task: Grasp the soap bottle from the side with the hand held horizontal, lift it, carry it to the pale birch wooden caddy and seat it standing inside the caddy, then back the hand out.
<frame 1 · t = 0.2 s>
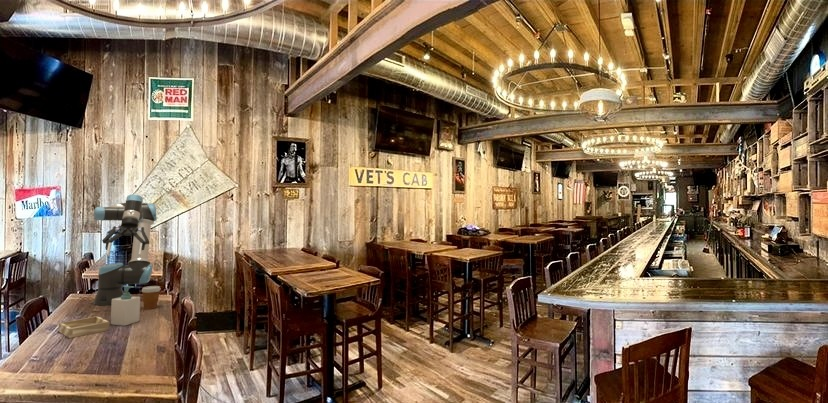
hand: (123, 255, 204), 35 cm above the table, tool tilted 35°, fingers open, 13 cm apart
caddy: (84, 330, 188), on the table
soap bottle: (125, 323, 202), on the table
disposable coffee cup: (150, 308, 231), on the table
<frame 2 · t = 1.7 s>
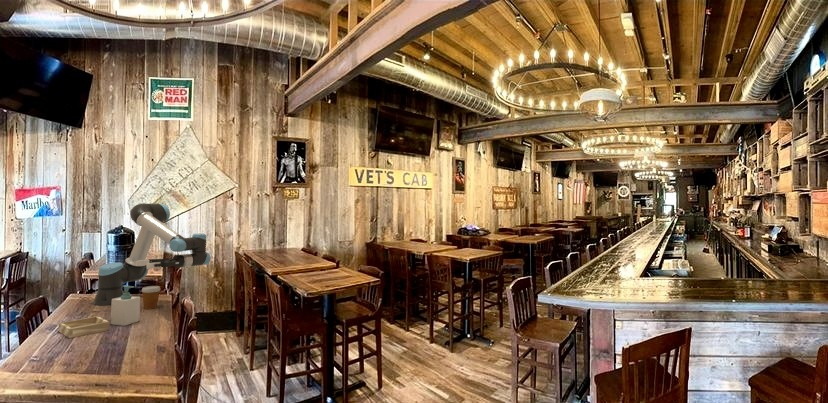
hand: (141, 264, 213), 28 cm above the table, tool horizontal, fingers open, 13 cm apart
nothing on the table moved.
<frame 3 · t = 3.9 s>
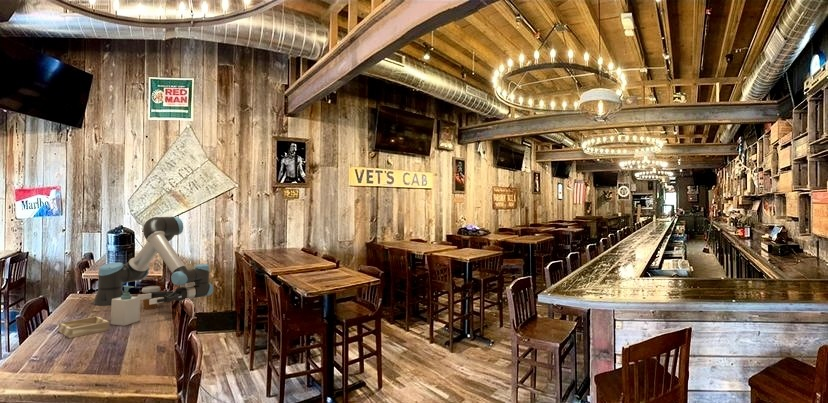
hand: (143, 299, 208), 10 cm above the table, tool horizontal, fingers open, 13 cm apart
nothing on the table moved.
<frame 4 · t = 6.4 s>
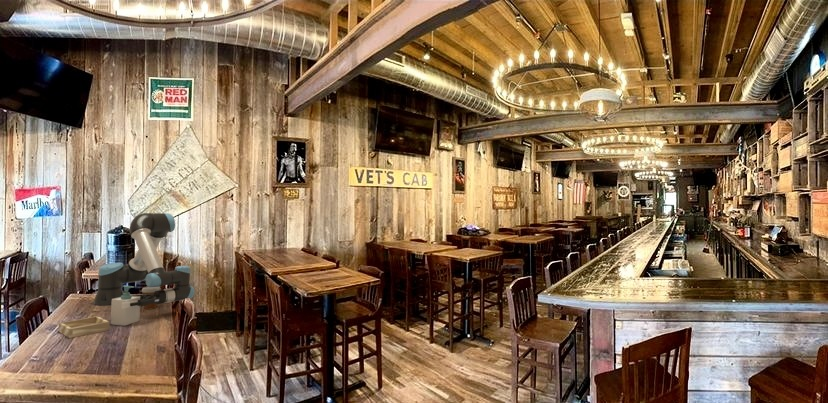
hand: (117, 303, 199), 10 cm above the table, tool horizontal, fingers closed on soap bottle, 11 cm apart
soap bottle: (125, 323, 202), on the table, touching gripper
everything else where it was.
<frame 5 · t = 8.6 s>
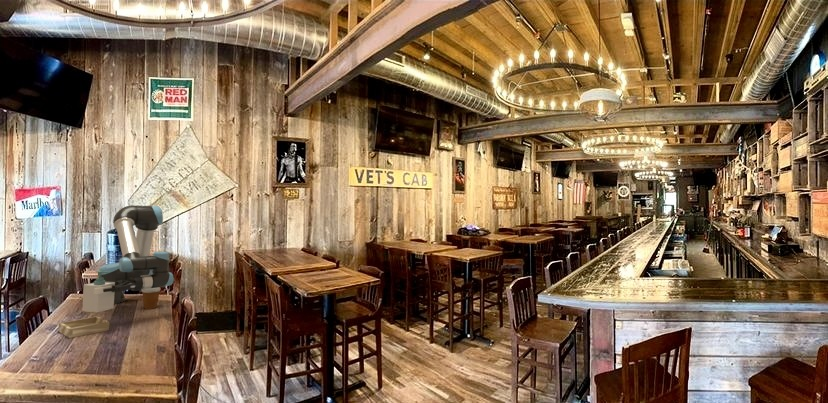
hand: (89, 289, 188), 20 cm above the table, tool horizontal, fingers closed on soap bottle, 11 cm apart
soap bottle: (98, 310, 191), point 9 cm above the table, touching gripper
everything else where it was.
when the fingers open (13 cm above the table, at t = 10.8 s): soap bottle drops 1 cm, resting on caddy.
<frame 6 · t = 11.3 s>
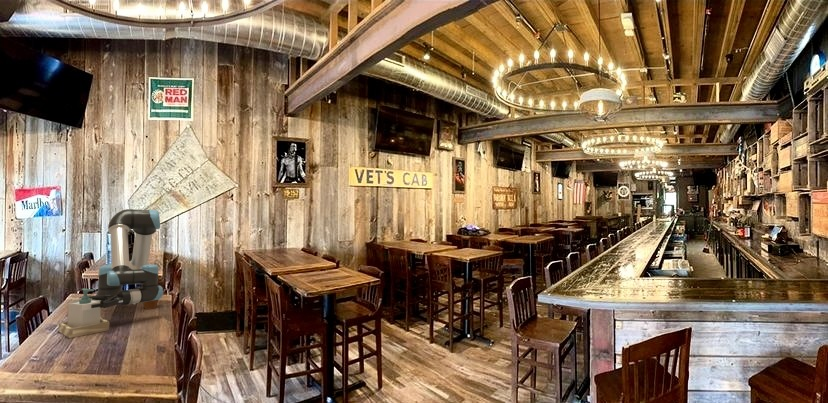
hand: (76, 305, 185), 13 cm above the table, tool horizontal, fingers open, 13 cm apart
soap bottle: (84, 328, 188), point 1 cm above the table, touching caddy
everything else where it was.
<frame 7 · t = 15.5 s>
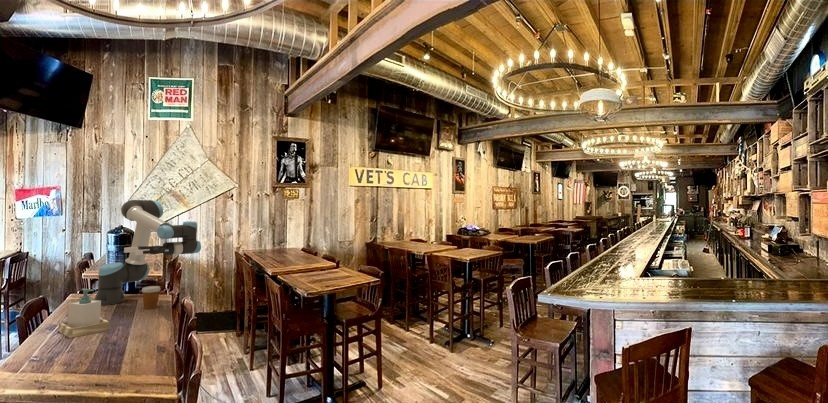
hand: (129, 251, 209), 36 cm above the table, tool horizontal, fingers open, 13 cm apart
nothing on the table moved.
at the end: soap bottle inside the target area on the caddy (0.2 cm from its centre), point 0.8 cm above the caddy's base; soap bottle tilted 0°; the gripper is holding nothing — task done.
